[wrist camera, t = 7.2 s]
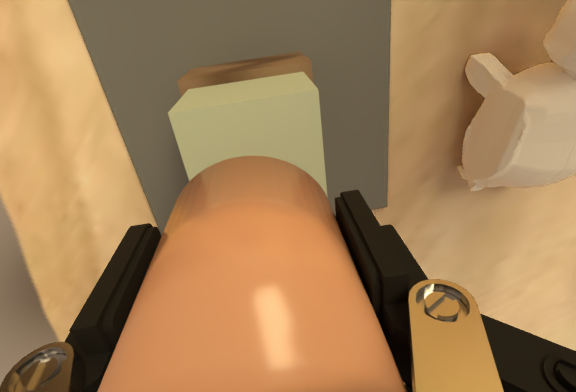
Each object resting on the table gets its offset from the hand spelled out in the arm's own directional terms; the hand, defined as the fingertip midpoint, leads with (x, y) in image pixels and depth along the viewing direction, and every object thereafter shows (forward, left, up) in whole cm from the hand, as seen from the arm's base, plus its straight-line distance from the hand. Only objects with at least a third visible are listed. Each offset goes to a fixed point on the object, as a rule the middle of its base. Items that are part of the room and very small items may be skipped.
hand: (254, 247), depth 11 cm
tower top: (0, 0, -11) cm, 11 cm away
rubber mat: (0, 0, -16) cm, 16 cm away
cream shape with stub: (-20, +1, -17) cm, 26 cm away
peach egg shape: (0, 0, -1) cm, 1 cm away
